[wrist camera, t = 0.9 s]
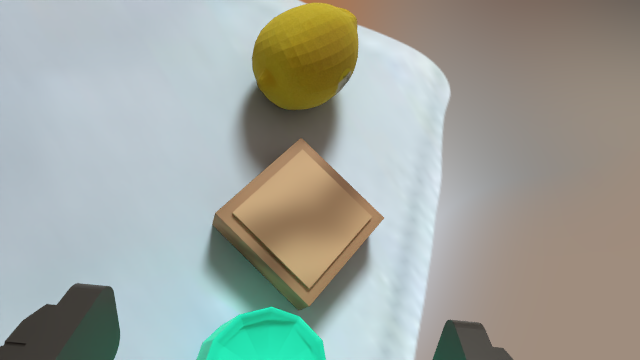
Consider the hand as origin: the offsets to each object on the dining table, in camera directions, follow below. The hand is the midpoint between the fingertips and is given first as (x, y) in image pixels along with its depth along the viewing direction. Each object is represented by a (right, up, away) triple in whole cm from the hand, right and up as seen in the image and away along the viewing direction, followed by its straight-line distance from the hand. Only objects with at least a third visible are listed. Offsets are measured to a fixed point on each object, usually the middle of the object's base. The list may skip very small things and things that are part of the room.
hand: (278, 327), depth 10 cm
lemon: (-1, +12, +28) cm, 31 cm away
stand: (-1, 0, +23) cm, 23 cm away
